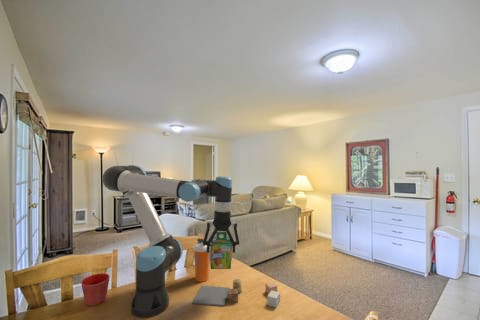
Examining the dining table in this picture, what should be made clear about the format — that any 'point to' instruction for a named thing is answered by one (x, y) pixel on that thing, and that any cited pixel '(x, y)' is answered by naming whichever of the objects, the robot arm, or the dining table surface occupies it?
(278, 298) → the grey plastic block
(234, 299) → the walnut block
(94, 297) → the flower pot
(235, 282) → the oak cylinder
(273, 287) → the terracotta cube
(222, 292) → the mat
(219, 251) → the chalk box
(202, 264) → the shaker bottle
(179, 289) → the dining table surface
